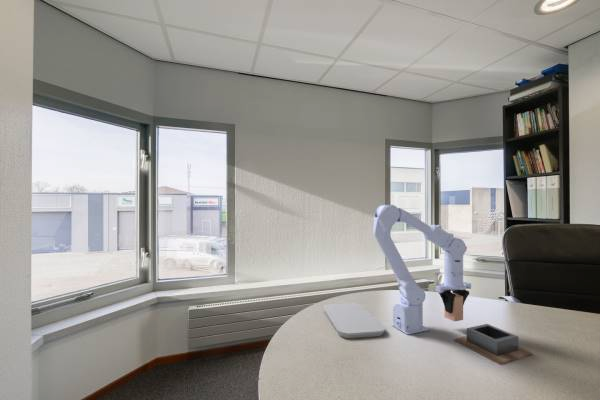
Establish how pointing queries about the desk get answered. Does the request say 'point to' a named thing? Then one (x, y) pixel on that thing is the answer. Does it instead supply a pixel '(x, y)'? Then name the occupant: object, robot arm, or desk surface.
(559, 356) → the desk surface
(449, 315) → the peg
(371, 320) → the tablet
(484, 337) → the socket board
